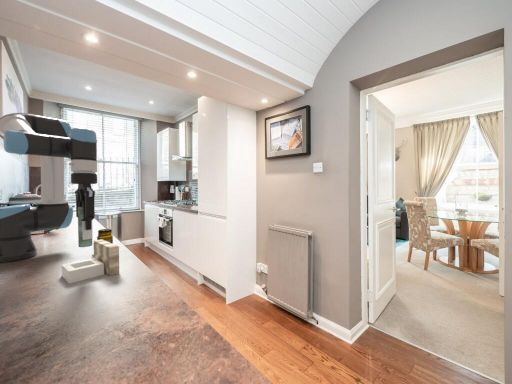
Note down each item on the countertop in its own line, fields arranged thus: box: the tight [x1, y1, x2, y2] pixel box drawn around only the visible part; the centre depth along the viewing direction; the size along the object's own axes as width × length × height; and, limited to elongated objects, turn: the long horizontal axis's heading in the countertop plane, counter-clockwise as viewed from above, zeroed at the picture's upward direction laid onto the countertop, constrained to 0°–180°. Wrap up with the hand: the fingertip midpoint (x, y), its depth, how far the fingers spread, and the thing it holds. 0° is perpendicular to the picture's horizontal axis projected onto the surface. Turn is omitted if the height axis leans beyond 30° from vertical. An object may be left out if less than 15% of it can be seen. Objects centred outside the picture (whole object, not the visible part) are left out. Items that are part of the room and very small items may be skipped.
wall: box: [93, 239, 120, 277], centre depth 88 cm, size 17×3×10 cm, turn 51°
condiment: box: [90, 228, 114, 259], centre depth 105 cm, size 7×8×12 cm
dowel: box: [77, 207, 93, 248], centre depth 82 cm, size 4×4×14 cm
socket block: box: [61, 258, 105, 284], centre depth 82 cm, size 10×10×4 cm
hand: (85, 237), depth 82 cm, fingers closed on dowel, 4 cm apart
